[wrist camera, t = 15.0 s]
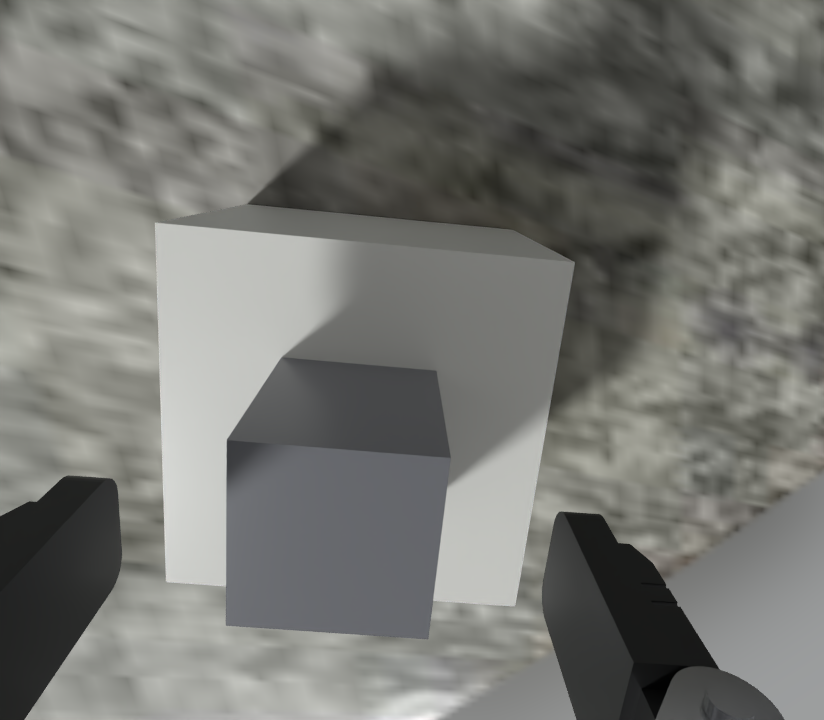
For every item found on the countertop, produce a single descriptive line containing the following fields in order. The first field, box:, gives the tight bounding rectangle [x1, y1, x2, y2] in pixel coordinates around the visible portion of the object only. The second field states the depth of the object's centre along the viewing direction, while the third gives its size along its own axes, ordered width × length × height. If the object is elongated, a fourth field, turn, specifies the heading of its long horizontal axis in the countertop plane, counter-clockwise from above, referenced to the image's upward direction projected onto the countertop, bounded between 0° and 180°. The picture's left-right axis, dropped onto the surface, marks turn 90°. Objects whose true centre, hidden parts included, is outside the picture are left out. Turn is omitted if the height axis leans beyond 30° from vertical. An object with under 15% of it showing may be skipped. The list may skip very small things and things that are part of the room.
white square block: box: [155, 204, 575, 639], centre depth 18 cm, size 10×10×14 cm
